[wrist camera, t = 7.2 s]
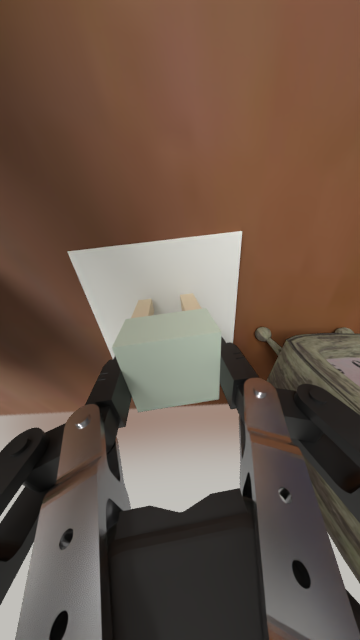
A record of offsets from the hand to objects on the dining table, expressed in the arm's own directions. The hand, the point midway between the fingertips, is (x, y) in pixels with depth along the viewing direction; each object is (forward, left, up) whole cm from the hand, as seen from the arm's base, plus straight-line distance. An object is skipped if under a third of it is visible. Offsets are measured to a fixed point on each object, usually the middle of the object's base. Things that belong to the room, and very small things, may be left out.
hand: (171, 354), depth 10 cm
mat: (0, 0, -6) cm, 6 cm away
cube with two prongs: (0, 0, -5) cm, 5 cm away
